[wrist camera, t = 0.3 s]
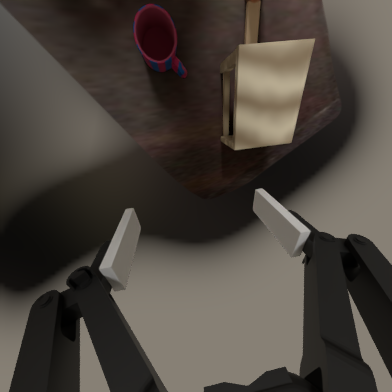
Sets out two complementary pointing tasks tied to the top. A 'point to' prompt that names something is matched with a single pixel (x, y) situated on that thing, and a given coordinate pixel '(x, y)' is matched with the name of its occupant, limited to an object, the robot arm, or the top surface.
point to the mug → (157, 39)
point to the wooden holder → (265, 92)
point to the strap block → (251, 23)
